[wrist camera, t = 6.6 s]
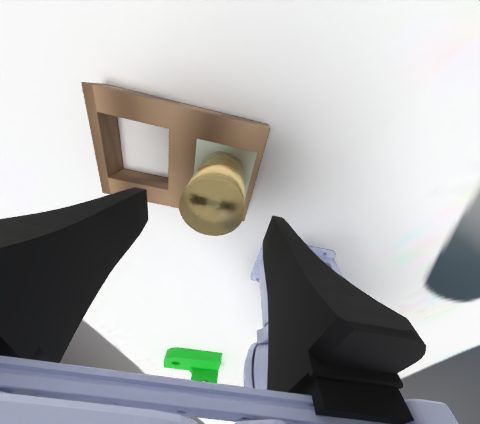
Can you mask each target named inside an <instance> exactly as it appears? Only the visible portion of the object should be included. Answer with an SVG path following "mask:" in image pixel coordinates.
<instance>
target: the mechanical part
mask: <svg viewBox="0 0 480 424" xmlns="http://www.w3.org/2000/svg"><path fill="white" fill-rule="evenodd" d="M220 363H221V353H217V352H209V351H201V350H193V349H185V348H170V349H168V350H167V353H166V356H165V359H164V367H166V368H174V369H183V370H189V371H190V372H191V373H192V378H191V380H194V381H205V382H209V383H217V376H218V369H219V366H220Z"/></svg>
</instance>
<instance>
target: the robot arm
mask: <svg viewBox="0 0 480 424" xmlns="http://www.w3.org/2000/svg"><path fill="white" fill-rule="evenodd" d="M147 221H148V206H147V190H146V189H141V188H137V187H134V188H130V189H126V190H123V191H120V192H116V193H113V194H110V195H107V196H104V197H101V198H98V199H94V200H91V201H87V202H84V203H80V204H77V205H73V206H69V207H65V208H61V209H56V210H51V211H47V212H42V213H36V214H30V215H24V216H18V217H12V218H5V219H0V424H198V423H197V421H194V420H192V419H189V418H187V417H184V416H190V417H199V418H207V419H216V420H225V421H234V422H236V423H235V424H459V423H458V422H457V421H456V419H455V417H454V416H453V414H452V413H451V411H450V409H449V408H448V406H447V405H446V404H444V403H442V402H435V401H428V400H420V399H406V400H404V399H403V397H402V395H401V393H400V391H399V389H398V388H402V387H403V383H402V381H401V379H400V378H399V376H398V374H397V373H398V372H400V371H402V370H404V369H405V368H407V367H409V366H410V365H412V364H414V363H416V362H417V361H418V360H420V359H421V358H422V357H423V355H424V354H425V351H426V345H425V344H424V342H423V341H422V339H421V338H420V336H419V335H418V333H417V332H416V331H415V329H414V328H413V326H412V325H411V323H410V322H409V320H408V319H407V318H405V317H403V316H402V315H400V314H398V313H397V312H395V311H393V310H392V309H390V308H388V307H386V306H385V305H383V304H381V303H380V302H378V301H376V300H375V299H373V298H372V297H370V296H369V295H367V294H366V293H364V292H363V291H361V290H360V289H358V288H357V287H355V286H354V285H352V284H351V283H350V282H348V281H347V280H346V279H344V278H343V277H342V276H341V274H340V272H339V270H338V268H337V266H336V264H335V262H334V260H333V258H334V257H335V255H336V254H335V252H334V251H332V250H327V249H322V248H317V247H312V246H307V245H306V244H305V243H304V242H303V240H302V239H301V238H300V237H299V236H298V235H297V234H296V232H295V231H294V230H293V229H292V228H291V226H290V225H289V224H288V223H287V222H286V221H285V220H284V219H283V218H282V217H277V216H272V219H271V221H270V224H269V227H268V229H267V232H266V235H265V237H264V240H263V245H262V248H261V250H260V253H259V256H258V258H257V261H256V264H255V266H254V269H253V272H252V274H251V280H253V281H258V282H260V289H261V304H262V320H263V328H262V329H260V330H257V342H256V343H253V344H252V345H251V346H250V348H249V350H248V354H247V357H246V360H245V365H244V387H241V386H233V385H225V384H217V383H209V382H202V381H194V380H186V379H178V378H171V377H163V376H155V375H147V374H140V373H132V372H124V371H116V370H108V369H100V368H93V367H85V366H77V365H69V364H62V363H60V361H61V359H62V357H63V355H64V353H65V351H66V349H67V347H68V345H69V343H70V341H71V339H72V337H73V335H74V333H75V332H76V330H77V328H78V326H79V324H80V322H81V321H82V319H83V317H84V315H85V314H86V312H87V310H88V308H89V306H90V305H91V303H92V301H93V300H94V298H95V296H96V295H97V293H98V291H99V290H100V288H101V286H102V285H103V283H104V282H105V280H106V279H107V277H108V275H109V274H110V272H111V271H112V270H113V268H114V267H115V265H116V264H117V263H118V262H119V260H120V259H121V258H122V256H123V255H124V254H125V253H126V251H127V250H128V249H129V248H130V246H131V245H132V244H133V243H134V241H135V240H136V239H137V237H138V236H139V235H140V233H141V232H142V230H143V228H144V226H145V225H146V223H147ZM324 252H325V253H324Z"/></svg>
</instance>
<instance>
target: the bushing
mask: <svg viewBox="0 0 480 424" xmlns="http://www.w3.org/2000/svg"><path fill="white" fill-rule="evenodd" d="M244 198H245V171H244V167H243V165H242V163H241V161H240V160H239V159H238V158H237V157H236V156H234V155H233V154H231V153H228V152H223V151H218V152H214V153H211V154H209V155H208V156H206V157H205V158H204V160H203V161H202V163H201V164H200V166H199V167H198V169H197V171H196V172H195V174H194V175H193V177H192V178H191V180H190V182H189V183H188V185H187V186H186V188H185V190H184V191H183V193H182V195H181V197H180V200H179V210H180V214H181V216H182V218H183V219H184V221H185V222H186V223H187V224H188V225H189V226H190V227H191V228H192V229H194V230H195V231H197V232H200V233H202V234H206V235H212V236H218V235H224V234H227V233H229V232H231V231H233V230H234V229H236V228H237V227H238V226H239V225H240V223H241V222H242V220H243V217H244Z"/></svg>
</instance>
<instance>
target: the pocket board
mask: <svg viewBox="0 0 480 424" xmlns="http://www.w3.org/2000/svg"><path fill="white" fill-rule="evenodd" d="M81 83H82V88H83V93H84V98H85V104H86V109H87V114H88V119H89V124H90V129H91V134H92V140H93V145H94V150H95V155H96V160H97V165H98V171H99V176H100V181H101V186H102V191H103V193H107V194H113V193H116V192H120V191H123V190H126V189H130V188H134V187H137V188H141V189H146V190H147V202H151V203H156V204H161V205H166V206H171V207H176V208H179V200H180V197H181V195H182V193H183V191H184V190H185V188H186V186H187V185H188V183H189V182H190V180H191V178H192V177H193V175H194V174H195V172H196V171H197V169H198V167H199V166H200V164H201V163H202V161H203V160H204V158H205V157H206V156H208V155H209V154H211V153H214V152H218V151H223V152H228V153H231V154H233V155H234V156H236V157H237V158H238V159H239V160H240V161H241V163H242V165H243V167H244V171H245V198H244V217H243V220H242V221H244V220H245V216H246V212H247V209H248V205H249V202H250V198H251V195H252V191H253V188H254V184H255V180H256V177H257V173H258V170H259V166H260V163H261V159H262V155H263V152H264V148H265V145H266V141H267V138H268V134H269V131H270V128H269V126H268V124H265V123H261V122H257V121H252V120H248V119H244V118H240V117H236V116H232V115H228V114H224V113H220V112H216V111H212V110H208V109H204V108H200V107H196V106H192V105H188V104H184V103H180V102H176V101H172V100H168V99H163V98H159V97H155V96H151V95H147V94H143V93H139V92H135V91H131V90H127V89H123V88H119V87H115V86H111V85H107V84H100V83H86V82H81ZM117 117H121V118H126V119H130V120H134V121H138V122H143V123H147V124H151V125H155V126H160V127H164V128H168V129H169V172H168V178H165V177H160V176H156V175H151V174H146V173H141V172H137V171H132V170H127V169H123V162H122V154H121V145H120V137H119V129H118V120H117Z"/></svg>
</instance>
